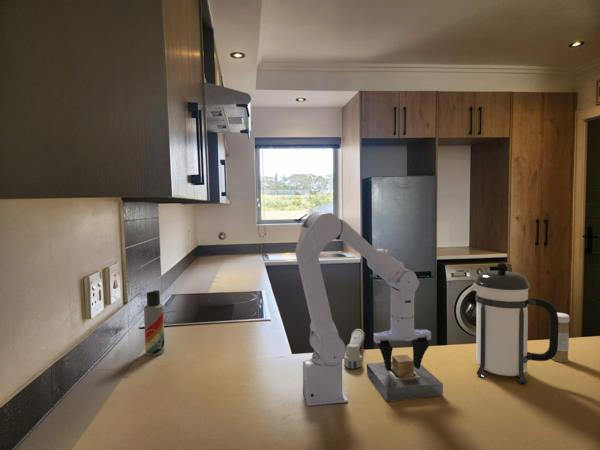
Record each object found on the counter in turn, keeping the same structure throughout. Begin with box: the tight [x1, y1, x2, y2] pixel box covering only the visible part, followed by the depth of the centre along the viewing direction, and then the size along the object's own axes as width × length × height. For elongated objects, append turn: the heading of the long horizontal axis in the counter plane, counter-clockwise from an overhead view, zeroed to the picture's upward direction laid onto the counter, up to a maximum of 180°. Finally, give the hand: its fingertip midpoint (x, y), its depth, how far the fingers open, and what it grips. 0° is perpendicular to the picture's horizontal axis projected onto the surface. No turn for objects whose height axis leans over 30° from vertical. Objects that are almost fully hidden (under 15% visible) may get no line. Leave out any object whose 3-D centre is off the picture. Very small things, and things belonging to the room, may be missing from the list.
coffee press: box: [469, 262, 558, 386], centre depth 97 cm, size 17×16×30 cm
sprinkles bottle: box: [551, 311, 571, 363], centre depth 106 cm, size 5×5×14 cm
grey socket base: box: [366, 361, 444, 402], centre depth 93 cm, size 14×14×3 cm
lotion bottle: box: [143, 289, 166, 357], centre depth 116 cm, size 6×6×20 cm
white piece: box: [343, 328, 365, 369], centre depth 114 cm, size 5×7×25 cm
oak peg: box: [391, 354, 414, 378], centre depth 92 cm, size 4×4×7 cm
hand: (402, 368), depth 92 cm, fingers open, 7 cm apart
